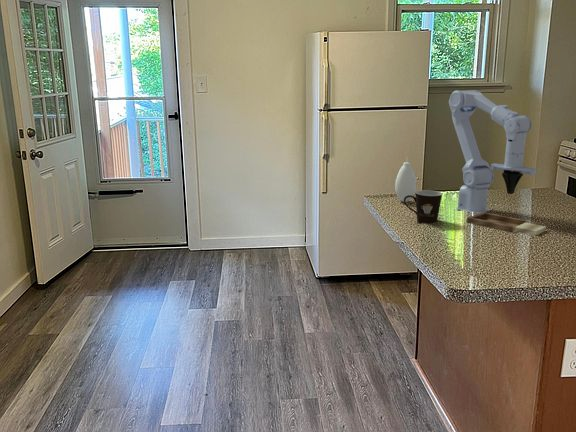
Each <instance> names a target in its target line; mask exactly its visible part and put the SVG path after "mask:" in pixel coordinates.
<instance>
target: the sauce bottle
mask: <svg viewBox="0 0 576 432" xmlns="http://www.w3.org/2000/svg"><path fill="white" fill-rule="evenodd" d="M408 157H409V156H408V155H407V156H406V161H405V162H403V163H402V164H403V165H402V166H401V167H400V168H399V171H398V173H397V176H396V179H395V183H394V186H395V187H394V188H395V189H394V190H395V194H396V197H397V199H399V200H400V201H401V202H403V203H404V198H405V197H406V196H408V195H411V196H414V197H415V195H416V189H417V182H416V181H417V179H416V175H415V171H414V169H413V167H412V165H411V162H408V159H409V158H408ZM412 199H413V198H412V197H408V198H406V200H405V202H406V203H408V202H410V200H412Z"/></svg>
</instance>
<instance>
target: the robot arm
mask: <svg viewBox="0 0 576 432" xmlns="http://www.w3.org/2000/svg"><path fill="white" fill-rule="evenodd" d="M448 104H449V109H450V111H451V119H452V123H453V126H454V130H455V133H456V135H457V138H458V143H459V145H460V147H461V151H462V153H463V157H464V161H465V164H464V166H463V167H462V168H461V171H462V173H463V174H462V175H463V176H462V179H463V180H462V181H463V183H464V185H462V186H461V187H460V189H459V191H458V201H457V208H456V210H457V211H467V212H471V213H477V214H480V213H483V212H486V213H487V212H489V211H491V208H487V205H488V194H489V193H488V192H489V188H490V187H491V184H493V182H494V180H495V173H494V172H495V170H496V171H502V173H501V177H502V178H503V181H504V183H505V187H506V194H507V195H512V194H514V193H515V190H516V187H517V185H518V183H519V181H520V180H521V179H522V177H523V176H524V174H525V175H531V176H536V174H537V168H533V167H528V166H525V165H524V160H525V149H526V143H527V142H526V141H527V133H529V132H530V131H531V128H532V121H531V119H530V117H528V116H527V115H519V113H518V112H517V111H513V110H511V109H510V108H509V106H508V105H507V104H499V105H497V104H495V102H493V101H491V100H490V99H488V98H487V97H486V96H484V95H483V93H482V92H480V91H478V90H477V89H474V90H454V91H453V92H452V93H451V94H450V96H449V100H448ZM476 109H480V110H482V111H483V112H485V113H487V114H489V115H490V118H491V120H492V121H494V122H495V123H496V124H498V125H500V126H501V127H503V129H504V131H505V138H506V145H505V146H506V147H505V154H504V162H503V163H495V162H494V163H491V165H490V163H488V161H486V160H485V159H483V158H482V155H481V152H480V150H479V147H478V142H477V139H476V137H475V133H474V131H473V128H472V125H471V121H470V117H471V116H472V115H474V113H475V111H476ZM523 165H524V166H523Z"/></svg>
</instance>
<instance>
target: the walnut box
mask: <svg viewBox="0 0 576 432" xmlns="http://www.w3.org/2000/svg"><path fill="white" fill-rule="evenodd" d="M466 223H467V224H471V225H475V226H476V225H477V226H481V227H484V228H489V229H490V228H491V229H496V230H500V231H503V232H509V233H511V232H515V227H516V226H519V225H521V224H523V223H528V221H527V220H526V219H521V218H515V217H512V216H510V217H509V216H506V215H501V214H495V213H490V212H487V211H486V212H483V213H477V214H474V215H472V216H469V217H467V219H466Z"/></svg>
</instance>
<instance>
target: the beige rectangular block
mask: <svg viewBox="0 0 576 432" xmlns="http://www.w3.org/2000/svg"><path fill="white" fill-rule="evenodd" d="M546 231H547V226H545V225H542V224H535V223H531V222H527V223H523V224H521V225H519V226H516V227H515V230H514V232H515V233H516V232H517V233H521V234H525V235H526V234H527V235H530V236H535V237H536V236H538V235H540V234H543V233H544V232H546Z"/></svg>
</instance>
